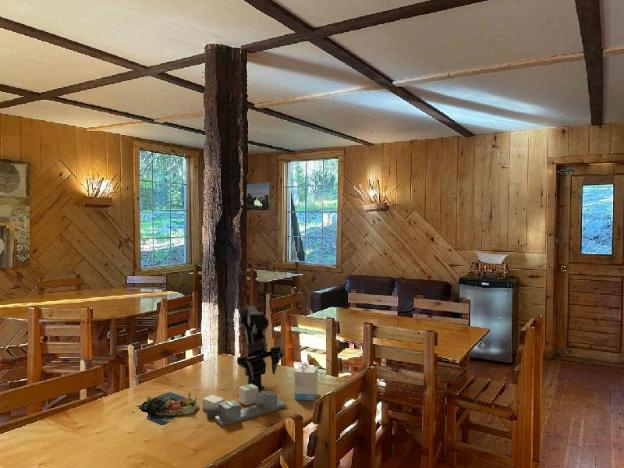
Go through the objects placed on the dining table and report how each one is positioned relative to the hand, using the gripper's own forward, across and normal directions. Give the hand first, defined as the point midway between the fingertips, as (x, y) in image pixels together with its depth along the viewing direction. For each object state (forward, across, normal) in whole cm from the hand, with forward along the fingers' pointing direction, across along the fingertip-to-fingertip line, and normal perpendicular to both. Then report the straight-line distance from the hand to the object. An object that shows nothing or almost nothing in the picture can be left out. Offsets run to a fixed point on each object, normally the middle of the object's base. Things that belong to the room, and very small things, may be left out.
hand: (262, 377), depth 180 cm
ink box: (+6, +11, +20) cm, 23 cm away
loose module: (+5, -10, +9) cm, 14 cm away
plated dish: (+5, -38, -5) cm, 39 cm away
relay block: (+7, -22, 0) cm, 23 cm away
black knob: (+12, -19, -6) cm, 23 cm away
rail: (+13, -6, 0) cm, 14 cm away
